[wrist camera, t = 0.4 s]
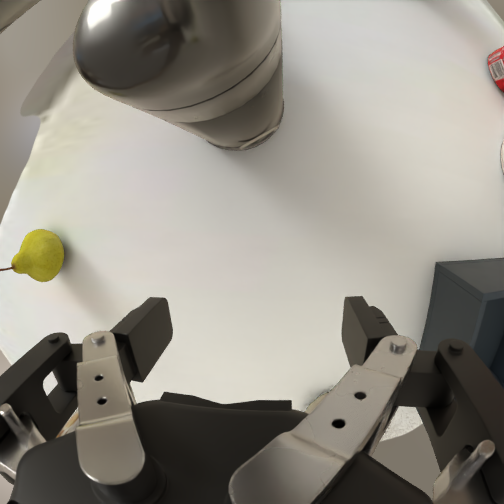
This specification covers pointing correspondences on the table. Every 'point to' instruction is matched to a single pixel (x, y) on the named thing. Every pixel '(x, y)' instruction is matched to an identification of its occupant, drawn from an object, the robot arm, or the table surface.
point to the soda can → (497, 67)
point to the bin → (469, 310)
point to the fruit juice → (502, 156)
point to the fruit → (39, 256)
